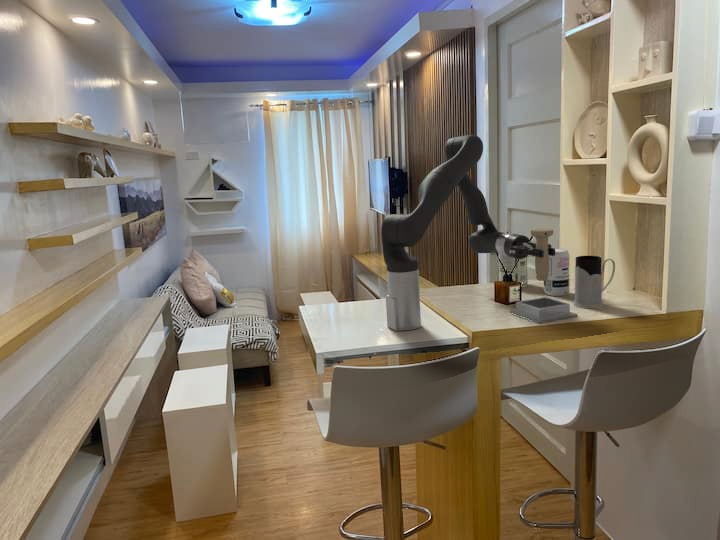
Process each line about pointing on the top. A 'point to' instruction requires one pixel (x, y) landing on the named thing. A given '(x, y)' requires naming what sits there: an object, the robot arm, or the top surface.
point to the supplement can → (558, 274)
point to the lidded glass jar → (518, 272)
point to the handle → (542, 244)
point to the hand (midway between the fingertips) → (548, 253)
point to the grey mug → (589, 281)
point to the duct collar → (543, 310)
